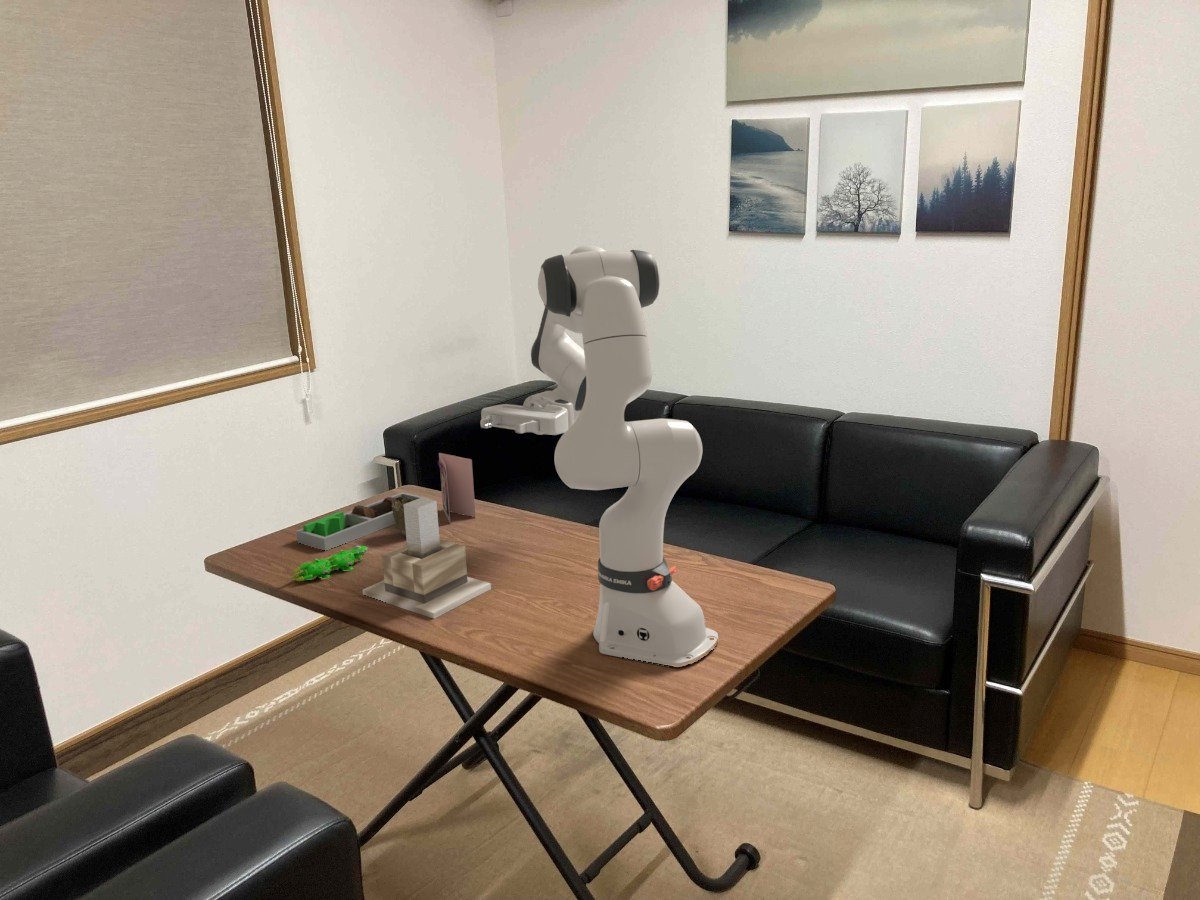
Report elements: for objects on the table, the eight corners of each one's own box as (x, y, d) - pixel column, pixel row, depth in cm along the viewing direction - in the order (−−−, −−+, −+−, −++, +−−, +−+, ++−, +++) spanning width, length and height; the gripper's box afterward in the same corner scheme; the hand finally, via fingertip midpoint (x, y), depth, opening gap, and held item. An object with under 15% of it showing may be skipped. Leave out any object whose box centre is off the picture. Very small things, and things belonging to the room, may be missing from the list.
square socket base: (491, 588, 189) (488, 547, 186) (434, 618, 176) (430, 574, 174) (421, 568, 200) (417, 528, 198) (363, 595, 188) (358, 553, 185)
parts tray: (430, 509, 237) (430, 498, 236) (325, 551, 211) (324, 539, 211) (403, 503, 243) (402, 492, 242) (297, 543, 217) (296, 530, 216)
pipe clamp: (316, 546, 215) (313, 528, 214) (305, 544, 217) (302, 525, 216) (353, 531, 224) (350, 513, 223) (342, 528, 226) (340, 510, 225)
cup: (433, 532, 221) (430, 500, 219) (411, 542, 215) (408, 510, 213) (409, 527, 225) (407, 496, 223) (387, 537, 219) (384, 505, 217)
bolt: (406, 516, 239) (362, 533, 226) (393, 504, 240) (348, 520, 228) (413, 499, 236) (369, 515, 224) (400, 487, 238) (355, 502, 225)
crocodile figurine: (376, 563, 204) (374, 545, 203) (302, 590, 192) (300, 570, 190) (359, 556, 209) (357, 538, 207) (285, 582, 196) (283, 562, 195)
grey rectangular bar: (442, 576, 188) (436, 500, 184) (424, 584, 184) (417, 507, 180) (428, 571, 191) (422, 497, 186) (410, 580, 187) (403, 504, 182)
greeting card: (439, 510, 237) (435, 453, 233) (468, 506, 239) (464, 449, 235) (446, 524, 226) (442, 465, 222) (477, 520, 228) (473, 461, 224)
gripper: (505, 394, 208) (462, 406, 198) (578, 403, 197) (537, 416, 186) (506, 422, 210) (464, 435, 199) (579, 432, 199) (538, 447, 188)
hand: (500, 426), depth 193 cm, fingers open, 8 cm apart
